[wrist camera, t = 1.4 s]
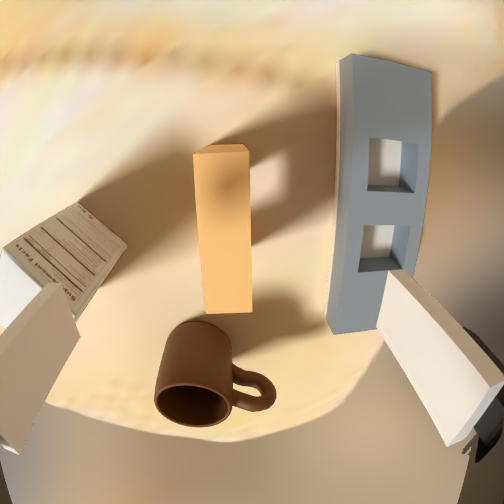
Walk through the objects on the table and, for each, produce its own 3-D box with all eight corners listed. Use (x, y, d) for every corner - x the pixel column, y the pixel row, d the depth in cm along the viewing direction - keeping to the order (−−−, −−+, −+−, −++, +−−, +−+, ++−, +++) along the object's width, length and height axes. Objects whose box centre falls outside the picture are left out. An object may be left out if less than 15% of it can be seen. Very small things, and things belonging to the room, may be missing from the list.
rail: (335, 62, 22) (351, 53, 18) (408, 76, 23) (430, 72, 19) (323, 312, 32) (333, 334, 29) (385, 306, 33) (400, 325, 29)
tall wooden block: (208, 145, 25) (192, 154, 15) (242, 143, 25) (249, 151, 15) (214, 250, 29) (206, 313, 19) (245, 249, 29) (252, 312, 19)
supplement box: (98, 291, 30) (47, 368, 18) (49, 249, 27) (-18, 309, 16) (131, 244, 28) (77, 318, 16) (78, 198, 26) (-1, 246, 14)
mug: (274, 324, 33) (287, 387, 24) (263, 371, 35) (272, 432, 27) (166, 314, 31) (148, 376, 23) (168, 363, 34) (156, 423, 26)
